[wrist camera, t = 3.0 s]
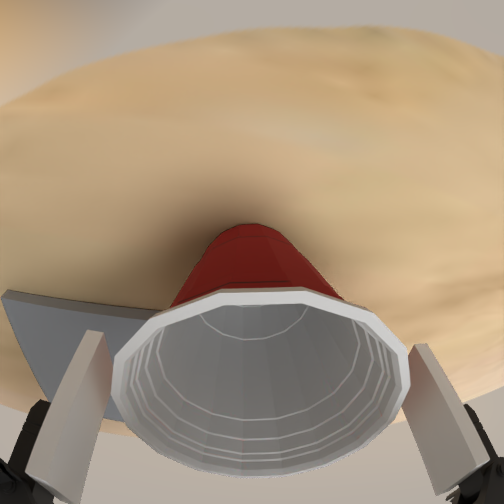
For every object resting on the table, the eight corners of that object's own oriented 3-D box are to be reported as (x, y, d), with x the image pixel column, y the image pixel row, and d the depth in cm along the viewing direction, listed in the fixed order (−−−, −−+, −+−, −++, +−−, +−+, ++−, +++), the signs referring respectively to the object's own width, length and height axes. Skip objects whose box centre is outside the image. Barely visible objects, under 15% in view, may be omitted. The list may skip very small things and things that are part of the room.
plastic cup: (271, 142, 16) (342, 216, 6) (355, 275, 21) (434, 414, 10) (131, 245, 19) (50, 394, 8) (231, 346, 23) (233, 492, 13)
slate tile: (54, 397, 27) (50, 404, 26) (7, 289, 20) (0, 297, 19) (178, 420, 28) (177, 429, 27) (165, 311, 21) (163, 321, 20)
